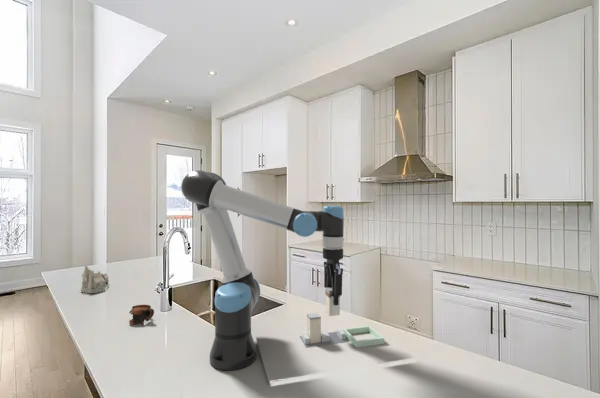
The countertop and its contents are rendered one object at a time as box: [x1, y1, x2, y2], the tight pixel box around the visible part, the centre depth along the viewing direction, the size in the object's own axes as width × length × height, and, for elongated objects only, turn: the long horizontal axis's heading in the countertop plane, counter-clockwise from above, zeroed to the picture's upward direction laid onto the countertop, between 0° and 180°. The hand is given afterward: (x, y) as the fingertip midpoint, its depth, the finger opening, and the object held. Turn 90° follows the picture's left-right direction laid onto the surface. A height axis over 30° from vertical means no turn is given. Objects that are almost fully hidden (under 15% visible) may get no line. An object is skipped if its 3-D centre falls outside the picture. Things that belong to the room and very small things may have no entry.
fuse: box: [306, 312, 322, 343], centre depth 112 cm, size 4×4×9 cm
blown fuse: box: [324, 287, 341, 317], centre depth 114 cm, size 4×4×9 cm
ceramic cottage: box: [80, 265, 111, 294], centre depth 181 cm, size 16×16×15 cm
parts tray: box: [342, 325, 385, 348], centre depth 113 cm, size 11×11×3 cm
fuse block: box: [299, 328, 350, 349], centre depth 113 cm, size 16×9×3 cm, turn 105°
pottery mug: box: [129, 304, 155, 326], centre depth 133 cm, size 12×10×8 cm
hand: (332, 310), depth 114 cm, fingers closed on blown fuse, 4 cm apart
